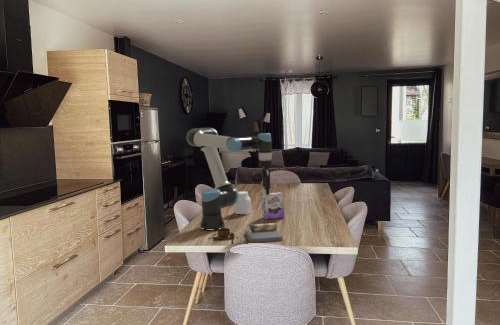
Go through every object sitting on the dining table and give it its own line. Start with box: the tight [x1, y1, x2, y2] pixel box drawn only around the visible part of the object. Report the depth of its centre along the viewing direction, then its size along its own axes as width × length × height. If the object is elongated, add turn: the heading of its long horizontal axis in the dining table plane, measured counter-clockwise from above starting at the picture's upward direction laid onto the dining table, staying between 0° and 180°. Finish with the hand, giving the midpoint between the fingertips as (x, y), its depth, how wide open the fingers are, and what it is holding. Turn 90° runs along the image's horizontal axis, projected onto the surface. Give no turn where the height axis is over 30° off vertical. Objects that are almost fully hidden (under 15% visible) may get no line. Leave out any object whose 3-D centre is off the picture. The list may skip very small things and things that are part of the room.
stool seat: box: [244, 228, 283, 244], centre depth 209 cm, size 18×17×5 cm
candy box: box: [261, 192, 285, 220], centre depth 251 cm, size 14×6×16 cm, turn 105°
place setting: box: [213, 227, 235, 245], centre depth 208 cm, size 18×20×6 cm
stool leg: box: [248, 222, 278, 231], centre depth 216 cm, size 16×3×3 cm, turn 98°
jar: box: [234, 191, 252, 215], centre depth 266 cm, size 12×10×15 cm
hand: (266, 199), depth 221 cm, fingers open, 5 cm apart
